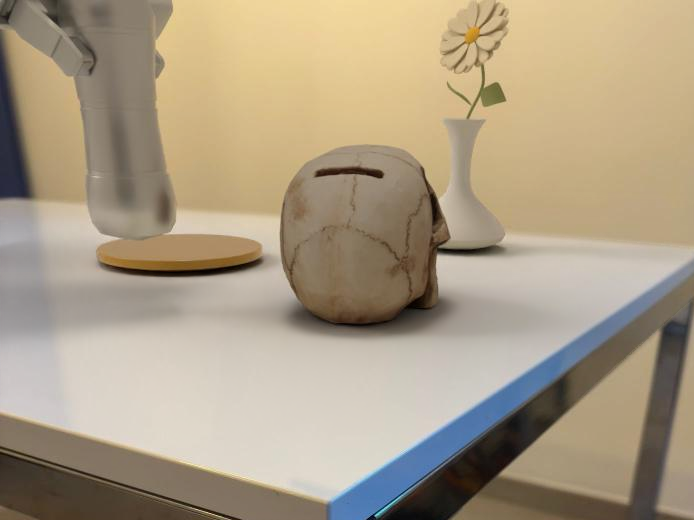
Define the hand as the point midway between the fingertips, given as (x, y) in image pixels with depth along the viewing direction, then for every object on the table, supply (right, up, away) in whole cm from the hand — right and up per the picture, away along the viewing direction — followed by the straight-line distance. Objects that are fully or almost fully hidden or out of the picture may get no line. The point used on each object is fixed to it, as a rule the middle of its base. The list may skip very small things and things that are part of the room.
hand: (121, 70), depth 55 cm
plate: (-3, -4, +28) cm, 28 cm away
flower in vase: (+28, 0, +38) cm, 47 cm away
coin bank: (+17, -14, +11) cm, 25 cm away
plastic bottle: (-1, -10, +6) cm, 12 cm away
